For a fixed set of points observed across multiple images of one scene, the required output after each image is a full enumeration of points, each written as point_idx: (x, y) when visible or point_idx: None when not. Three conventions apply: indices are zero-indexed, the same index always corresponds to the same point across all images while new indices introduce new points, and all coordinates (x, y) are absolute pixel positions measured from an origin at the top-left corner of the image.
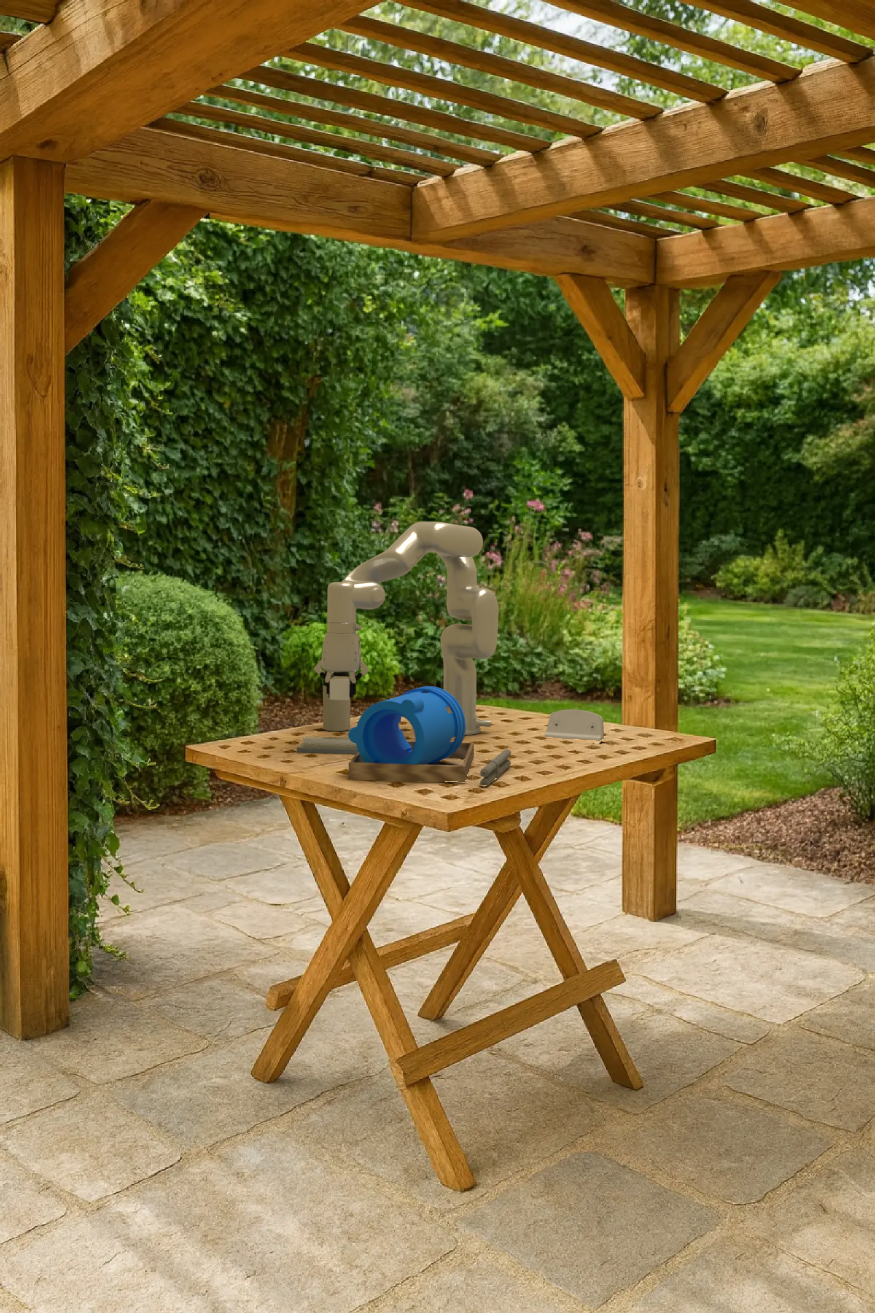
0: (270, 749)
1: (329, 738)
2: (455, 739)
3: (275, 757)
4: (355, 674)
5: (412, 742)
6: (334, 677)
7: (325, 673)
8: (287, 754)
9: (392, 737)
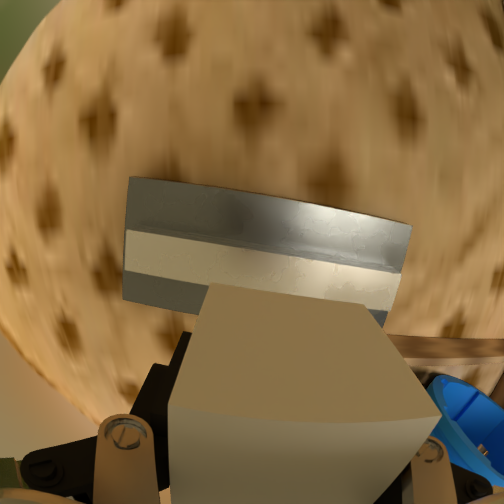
0: (55, 242)
1: (219, 275)
2: (487, 449)
3: (94, 351)
4: (441, 500)
5: (459, 363)
6: (194, 485)
7: (74, 493)
8: (110, 317)
9: None
